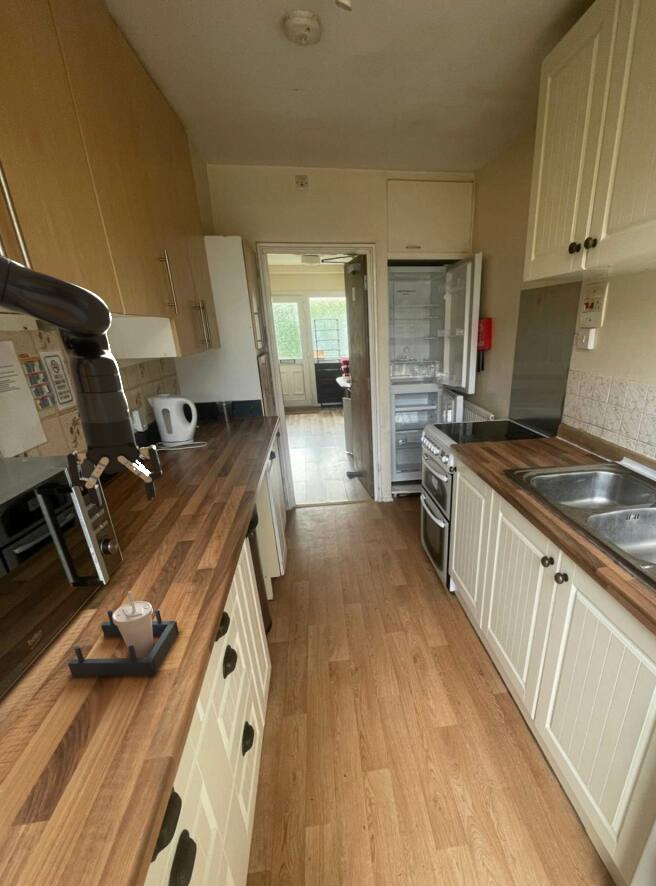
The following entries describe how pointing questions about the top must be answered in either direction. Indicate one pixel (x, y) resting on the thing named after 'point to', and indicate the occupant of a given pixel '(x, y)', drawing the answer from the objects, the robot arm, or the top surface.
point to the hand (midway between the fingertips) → (125, 502)
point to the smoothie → (135, 625)
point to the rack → (133, 664)
